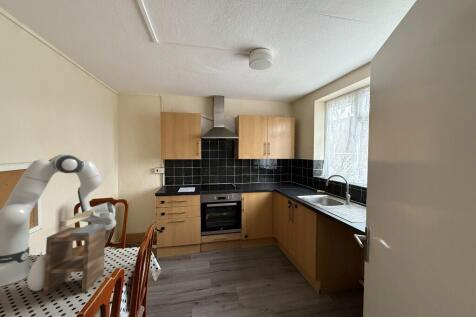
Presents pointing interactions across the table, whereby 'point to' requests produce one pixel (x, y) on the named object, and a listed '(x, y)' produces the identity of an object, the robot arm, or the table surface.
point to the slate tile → (87, 230)
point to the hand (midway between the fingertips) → (88, 213)
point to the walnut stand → (73, 259)
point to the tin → (78, 251)
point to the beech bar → (75, 218)
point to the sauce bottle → (37, 274)
